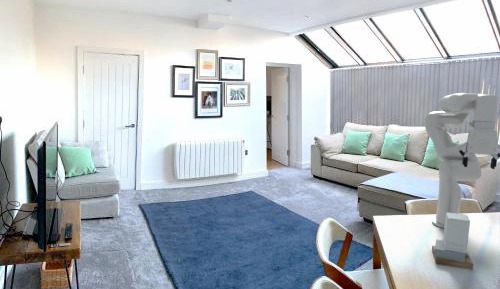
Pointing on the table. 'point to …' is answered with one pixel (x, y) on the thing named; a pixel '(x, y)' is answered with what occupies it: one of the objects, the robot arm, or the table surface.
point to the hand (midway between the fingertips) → (478, 167)
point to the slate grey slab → (447, 252)
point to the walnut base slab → (442, 261)
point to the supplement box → (456, 232)
